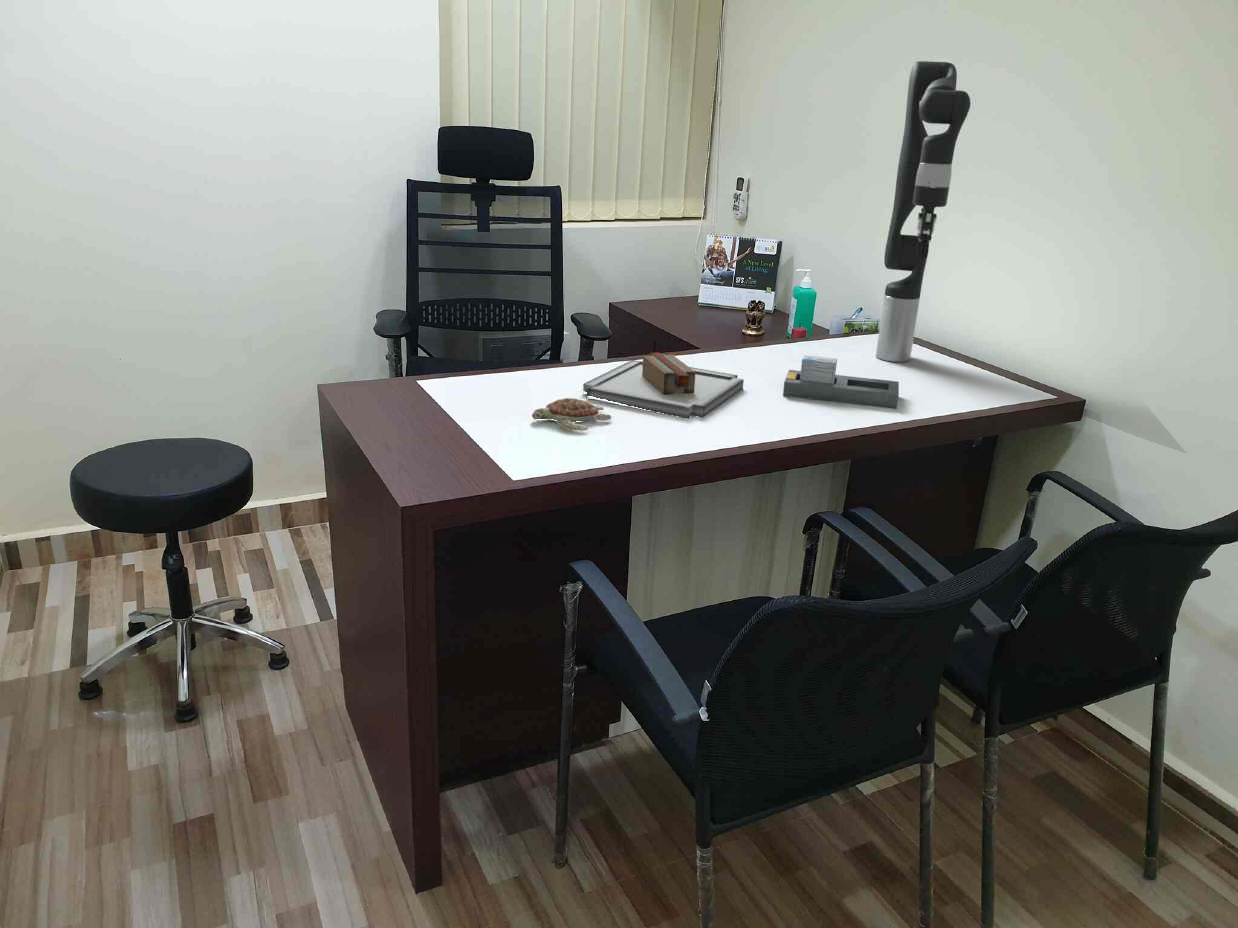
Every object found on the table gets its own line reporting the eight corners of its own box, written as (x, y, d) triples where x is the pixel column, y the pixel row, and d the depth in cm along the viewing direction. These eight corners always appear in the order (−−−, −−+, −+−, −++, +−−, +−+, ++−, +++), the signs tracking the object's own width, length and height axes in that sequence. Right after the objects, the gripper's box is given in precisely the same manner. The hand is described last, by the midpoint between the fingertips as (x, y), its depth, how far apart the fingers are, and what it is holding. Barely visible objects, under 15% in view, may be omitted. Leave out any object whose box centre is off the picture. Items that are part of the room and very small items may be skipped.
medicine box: (833, 393, 220) (837, 358, 217) (831, 398, 216) (836, 362, 213) (800, 389, 222) (804, 354, 219) (797, 394, 218) (801, 359, 215)
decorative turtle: (522, 410, 200) (522, 388, 198) (594, 405, 205) (595, 384, 204) (542, 438, 184) (542, 415, 183) (620, 432, 190) (621, 409, 188)
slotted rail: (787, 383, 226) (789, 369, 224) (896, 395, 219) (898, 380, 218) (782, 396, 216) (784, 381, 214) (896, 409, 210) (898, 393, 208)
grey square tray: (577, 399, 210) (578, 368, 207) (636, 369, 235) (637, 341, 232) (698, 423, 197) (700, 390, 194) (746, 389, 222) (748, 359, 219)
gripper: (914, 181, 216) (904, 250, 222) (916, 185, 203) (904, 259, 209) (948, 183, 214) (936, 252, 220) (951, 187, 202) (939, 261, 208)
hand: (921, 255), depth 215 cm, fingers open, 8 cm apart
